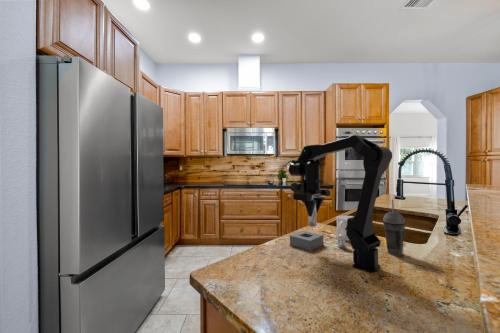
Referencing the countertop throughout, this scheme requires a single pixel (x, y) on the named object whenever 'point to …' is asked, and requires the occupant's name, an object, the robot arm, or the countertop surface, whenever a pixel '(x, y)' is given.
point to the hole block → (306, 240)
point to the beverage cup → (394, 231)
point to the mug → (342, 225)
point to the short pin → (341, 241)
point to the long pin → (313, 218)
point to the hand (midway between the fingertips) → (312, 215)
